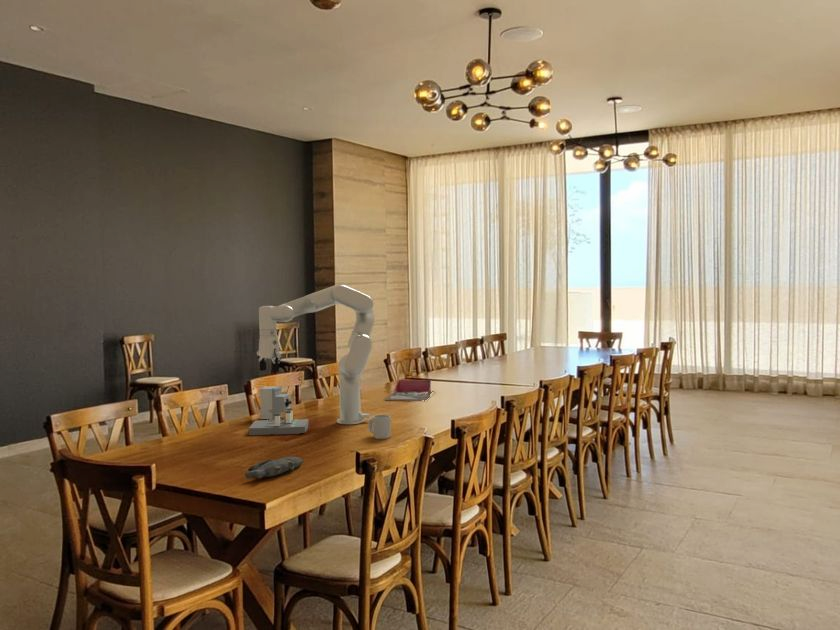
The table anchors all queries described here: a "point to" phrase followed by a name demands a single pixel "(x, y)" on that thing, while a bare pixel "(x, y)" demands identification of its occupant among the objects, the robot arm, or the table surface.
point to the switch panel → (278, 427)
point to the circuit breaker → (273, 402)
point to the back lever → (291, 412)
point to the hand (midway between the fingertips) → (269, 371)
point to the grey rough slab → (273, 467)
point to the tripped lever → (277, 419)
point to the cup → (380, 426)
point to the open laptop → (411, 390)
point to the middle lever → (288, 416)
